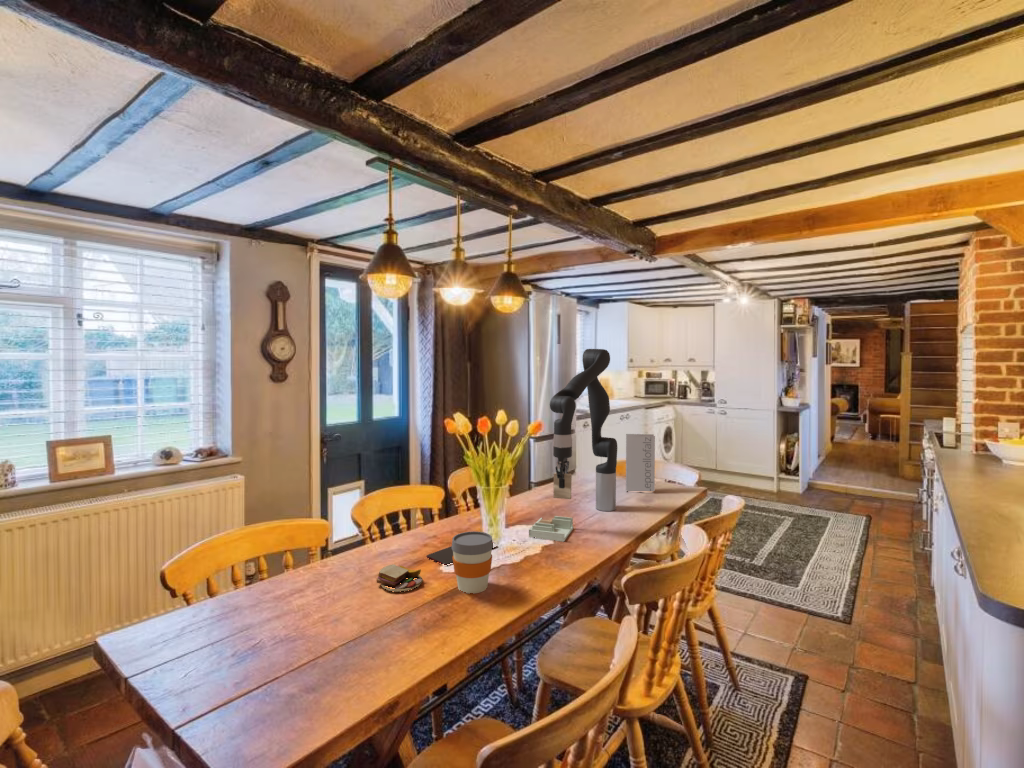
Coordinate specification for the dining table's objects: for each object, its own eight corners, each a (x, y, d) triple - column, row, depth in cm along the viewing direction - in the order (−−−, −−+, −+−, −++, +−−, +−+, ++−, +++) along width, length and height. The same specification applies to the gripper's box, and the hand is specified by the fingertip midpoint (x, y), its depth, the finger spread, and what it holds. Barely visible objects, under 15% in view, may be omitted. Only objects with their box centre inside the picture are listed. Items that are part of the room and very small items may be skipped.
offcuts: (541, 526, 202) (541, 519, 202) (554, 528, 201) (554, 520, 200) (537, 530, 198) (537, 522, 198) (550, 532, 196) (550, 524, 196)
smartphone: (423, 555, 174) (476, 536, 192) (423, 559, 174) (477, 540, 192) (445, 564, 165) (499, 544, 183) (445, 569, 165) (499, 548, 183)
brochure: (626, 492, 259) (626, 435, 257) (625, 489, 264) (626, 433, 263) (654, 493, 256) (654, 435, 255) (653, 490, 262) (653, 434, 260)
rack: (540, 524, 208) (540, 514, 208) (573, 528, 203) (573, 517, 203) (528, 537, 193) (528, 526, 193) (563, 541, 188) (563, 530, 188)
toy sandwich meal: (403, 598, 144) (403, 582, 144) (369, 587, 151) (369, 572, 151) (431, 581, 155) (430, 566, 155) (398, 572, 162) (398, 558, 162)
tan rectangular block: (554, 496, 204) (554, 472, 203) (571, 498, 201) (571, 473, 201) (553, 497, 202) (553, 473, 202) (570, 499, 200) (570, 474, 199)
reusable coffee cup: (444, 592, 147) (443, 542, 147) (463, 575, 159) (463, 529, 158) (482, 599, 143) (482, 548, 142) (499, 581, 154) (499, 534, 154)
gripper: (557, 442, 208) (557, 483, 209) (549, 447, 196) (549, 490, 196) (575, 443, 206) (575, 484, 207) (567, 448, 193) (567, 492, 194)
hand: (562, 487), depth 201 cm, fingers closed on tan rectangular block, 1 cm apart
